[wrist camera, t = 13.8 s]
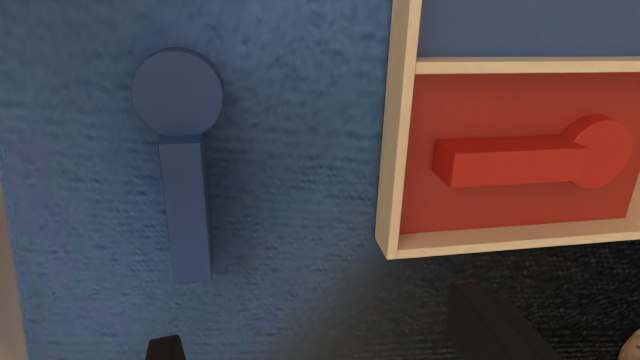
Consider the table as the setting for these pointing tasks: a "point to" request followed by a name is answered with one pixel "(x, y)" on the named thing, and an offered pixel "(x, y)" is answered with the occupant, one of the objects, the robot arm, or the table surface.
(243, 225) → the table surface
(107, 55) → the table surface
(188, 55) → the blue spoon
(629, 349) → the figurine
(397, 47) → the sorting tray
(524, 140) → the red spoon
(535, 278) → the table surface
